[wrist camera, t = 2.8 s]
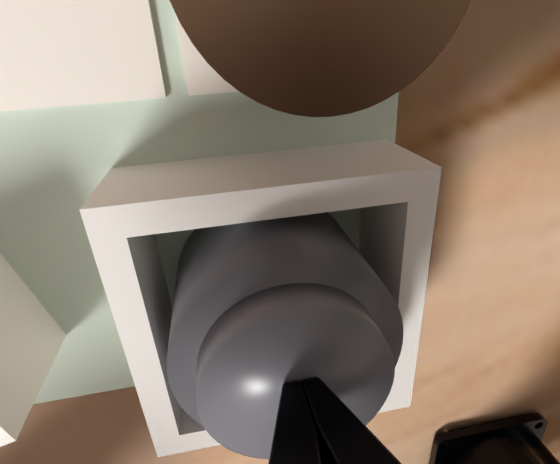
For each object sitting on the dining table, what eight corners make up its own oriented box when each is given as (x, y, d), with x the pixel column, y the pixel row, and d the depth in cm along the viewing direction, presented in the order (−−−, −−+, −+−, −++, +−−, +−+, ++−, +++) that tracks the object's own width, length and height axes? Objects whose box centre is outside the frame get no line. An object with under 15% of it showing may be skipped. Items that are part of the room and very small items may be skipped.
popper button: (353, 183, 12) (437, 260, 8) (349, 329, 15) (410, 449, 10) (160, 205, 11) (133, 306, 7) (192, 356, 14) (187, 498, 10)
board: (403, -170, 10) (520, -296, 6) (373, 330, 17) (418, 406, 13) (-494, -176, 7) (-1160, -388, 4) (-86, 409, 14) (-181, 528, 11)
